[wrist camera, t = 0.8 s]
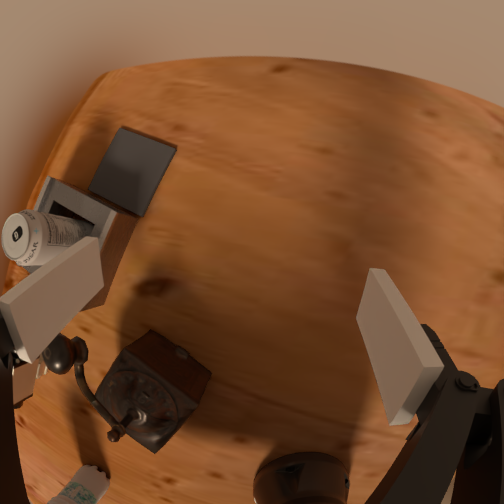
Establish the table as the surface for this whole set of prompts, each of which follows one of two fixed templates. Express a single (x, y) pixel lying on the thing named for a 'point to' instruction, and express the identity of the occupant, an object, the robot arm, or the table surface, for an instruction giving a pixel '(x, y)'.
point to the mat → (131, 170)
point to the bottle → (83, 487)
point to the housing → (105, 229)
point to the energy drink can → (40, 236)
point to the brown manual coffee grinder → (137, 386)
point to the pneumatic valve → (25, 377)
